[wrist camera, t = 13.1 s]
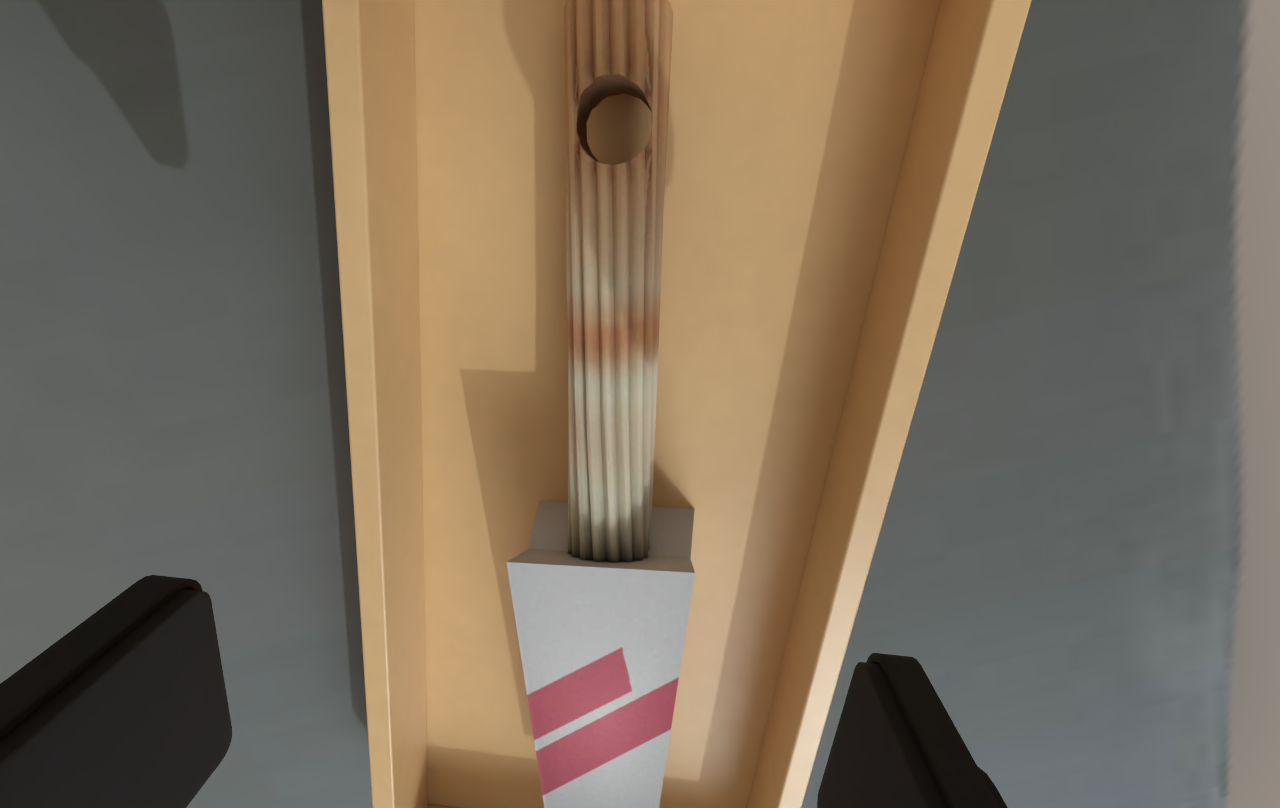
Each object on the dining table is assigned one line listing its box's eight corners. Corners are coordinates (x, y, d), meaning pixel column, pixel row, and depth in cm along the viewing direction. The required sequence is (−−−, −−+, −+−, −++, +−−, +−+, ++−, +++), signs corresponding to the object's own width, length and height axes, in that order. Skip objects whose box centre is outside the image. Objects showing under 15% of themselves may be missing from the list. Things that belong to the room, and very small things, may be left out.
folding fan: (515, 902, 15) (491, -34, 9) (539, 801, 18) (532, 23, 12) (669, 918, 15) (748, -28, 9) (670, 812, 17) (732, 29, 11)
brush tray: (418, 795, 19) (377, 891, 17) (393, -138, 11) (304, -241, 8) (751, 839, 19) (763, 944, 16) (980, -74, 11) (1078, -160, 8)
